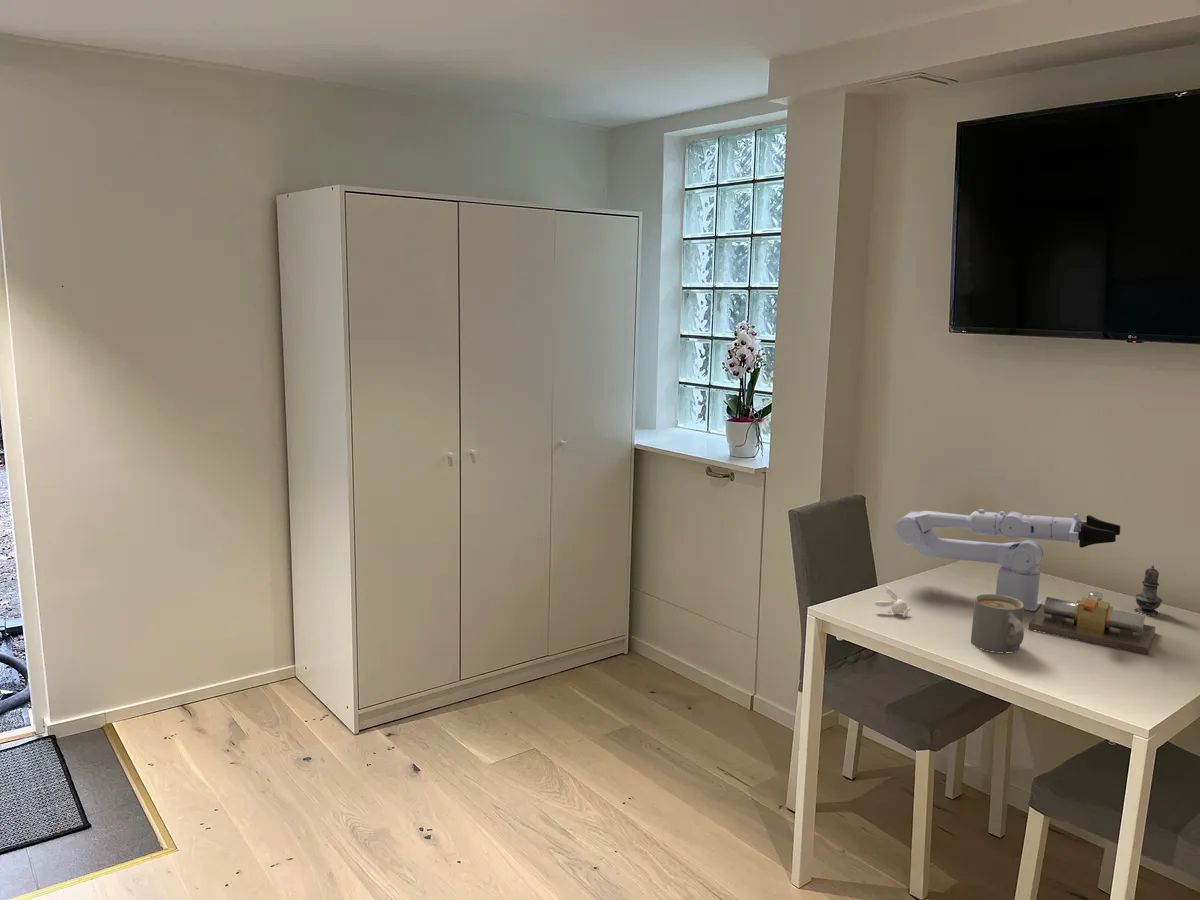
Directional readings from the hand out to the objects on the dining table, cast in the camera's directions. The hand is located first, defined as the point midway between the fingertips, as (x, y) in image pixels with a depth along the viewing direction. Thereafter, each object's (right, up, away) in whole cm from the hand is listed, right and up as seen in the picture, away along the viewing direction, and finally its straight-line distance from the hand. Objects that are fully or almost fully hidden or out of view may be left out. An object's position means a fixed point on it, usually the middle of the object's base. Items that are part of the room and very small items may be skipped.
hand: (1117, 533), depth 215 cm
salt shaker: (+13, -20, +11) cm, 27 cm away
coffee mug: (-33, -24, -13) cm, 43 cm away
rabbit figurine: (-50, -20, +8) cm, 55 cm away
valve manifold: (-7, -22, -2) cm, 24 cm away
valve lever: (-10, -15, -7) cm, 20 cm away
